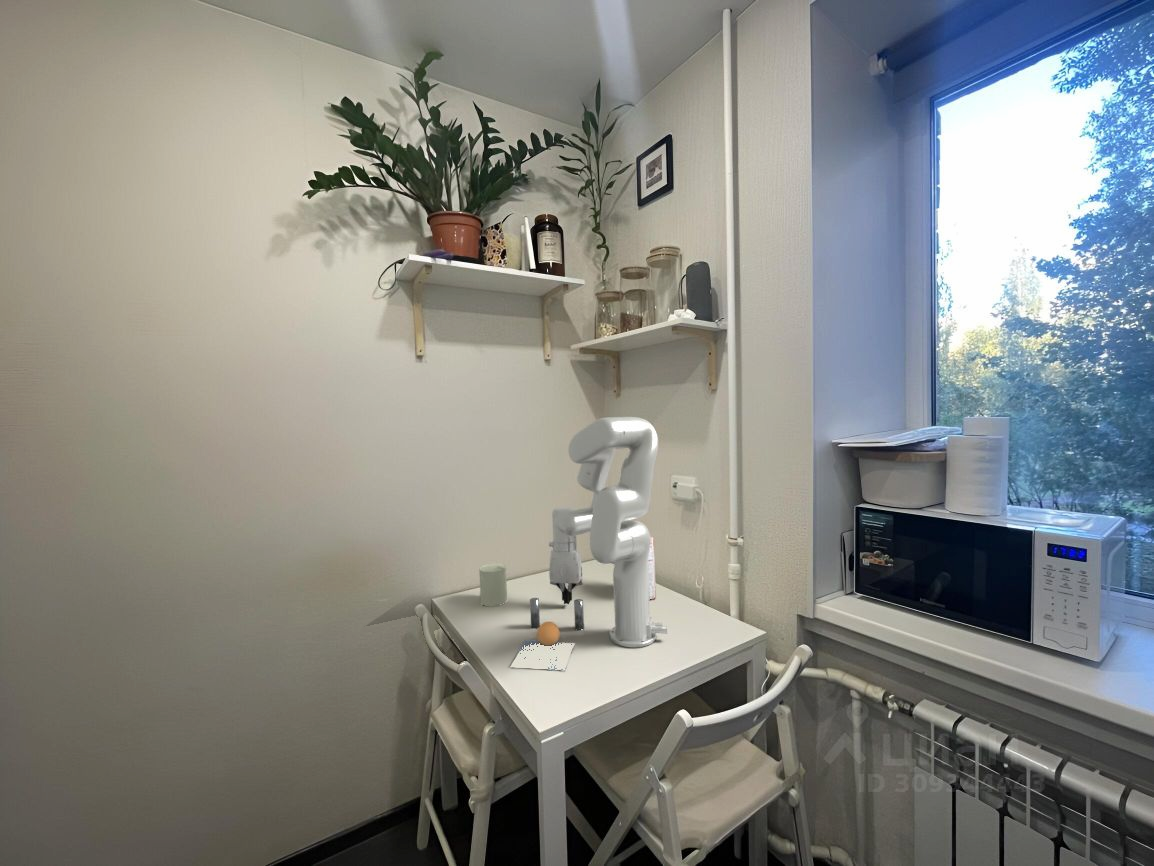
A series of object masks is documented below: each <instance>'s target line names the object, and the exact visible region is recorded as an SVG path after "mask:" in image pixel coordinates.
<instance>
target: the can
mask: <svg viewBox="0 0 1154 866" xmlns="http://www.w3.org/2000/svg"><path fill="white" fill-rule="evenodd" d="M478 572H479V590H480V591H479V592H480V593H479V594H480V601H479V604H480V603H481V604H482V605H481V606H483V605H485V606H484V607H488V606H492V607H496V606H495V605H499V606H501V605H500V604H502V605H504V604H506V603H507V602H508V601H507V600H509V598H508V584H507V582H508V581H507V565H506V564H503V563H489V564H484V565H482V566H480V567H479V569H478ZM506 601H507V602H506ZM505 602H506V603H505ZM503 603H504V604H503Z"/></svg>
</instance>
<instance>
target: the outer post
mask: <svg viewBox="0 0 1154 866" xmlns="http://www.w3.org/2000/svg"><path fill="white" fill-rule="evenodd" d="M529 609H530V613H529V614H530V628H531V629H533V628H536V629H538V628H539V627H540V625H541V621H540V620H541V618H540V615H541V614H540V599H539V597H531V598H529Z"/></svg>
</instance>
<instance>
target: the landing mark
mask: <svg viewBox="0 0 1154 866" xmlns="http://www.w3.org/2000/svg"><path fill="white" fill-rule="evenodd" d="M558 642H559V641H557V642H556V643H555V646H556V644H557V643H558ZM564 642H565V643H566V642H568V641H564ZM569 642H570V641H569ZM569 642H568V643H569ZM531 643H532V644H531ZM535 643H536V645H537V644H539V643H540V642H539V640H529V639H525V640H524V641H523V642H522V644H521V646H520V648H519V649H521V650H523V649H524V645H525V647H526V646H528V645H529V647H530V644H531V645H534V644H535ZM561 644H562V643H561ZM540 645H542V644H541V643H540ZM558 645H559V643H558ZM571 645H572V644H571ZM522 647H523V649H522ZM537 647H538V646H537ZM552 648H553V647H552ZM519 649H518V651H521V650H519ZM550 649H551V648H550ZM525 650H526V649H525ZM529 650H530V649H529ZM533 650H534V649H533ZM553 650H555V649H553ZM518 651H517V653H519V652H518ZM523 651H524V650H523ZM527 651H528V650H527ZM531 651H532V650H531ZM520 654H521V653H520ZM514 658H516V657H515V656H514ZM525 658H526V657H525ZM525 658H524V659H525ZM556 658H557V657H556ZM539 660H540V659H539ZM550 660H551V659H550ZM555 661H557V659H556V660H555ZM550 663H551V662H550ZM552 665H553V664H552ZM555 666H556V665H555ZM555 666H554V669H551V670H550V671H552V670H555V669H557V668H555ZM551 668H552V666H551ZM548 669H550V668H549V667H548ZM565 669H566V670H567V667H566V668H565ZM561 670H563V669H561Z"/></svg>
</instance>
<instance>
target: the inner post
mask: <svg viewBox="0 0 1154 866" xmlns="http://www.w3.org/2000/svg"><path fill="white" fill-rule="evenodd" d="M573 608H574V609H573V610H574V611H573V612H574V630H576V629H577V630H576V631H582V630H581V629H583V630H584V629H585V620H584V617H585V616H584V600H583V599H582V598H576V599H574V600H573Z"/></svg>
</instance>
